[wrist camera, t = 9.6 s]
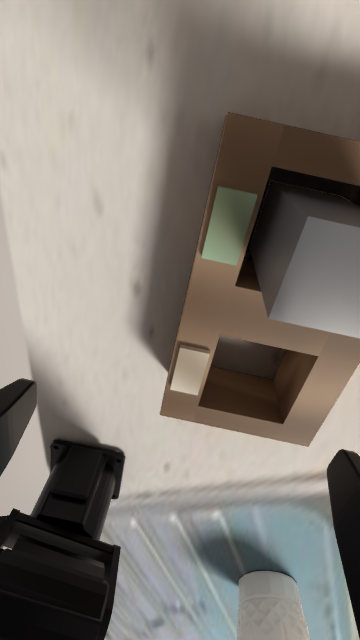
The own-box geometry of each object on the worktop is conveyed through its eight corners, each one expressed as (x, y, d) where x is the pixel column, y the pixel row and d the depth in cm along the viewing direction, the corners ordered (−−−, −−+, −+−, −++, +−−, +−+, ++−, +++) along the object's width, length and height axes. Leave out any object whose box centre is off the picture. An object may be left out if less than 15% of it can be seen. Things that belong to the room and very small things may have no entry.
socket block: (295, 400, 24) (309, 450, 20) (168, 373, 23) (159, 418, 20) (420, 159, 15) (483, 169, 12) (226, 115, 15) (228, 111, 12)
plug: (311, 261, 18) (367, 340, 12) (249, 247, 18) (268, 318, 11) (339, 195, 17) (426, 242, 10) (270, 179, 16) (308, 216, 10)
